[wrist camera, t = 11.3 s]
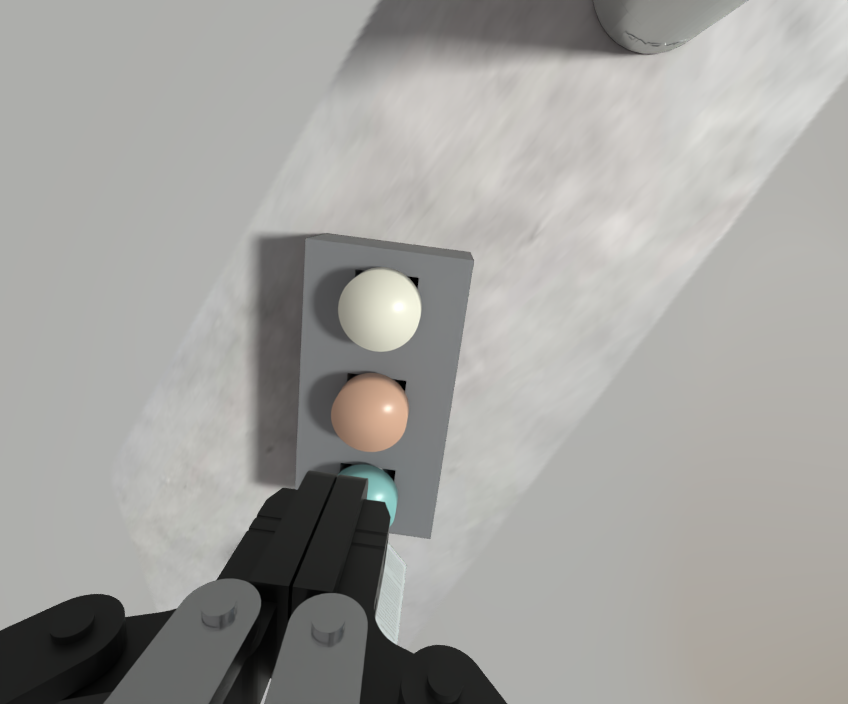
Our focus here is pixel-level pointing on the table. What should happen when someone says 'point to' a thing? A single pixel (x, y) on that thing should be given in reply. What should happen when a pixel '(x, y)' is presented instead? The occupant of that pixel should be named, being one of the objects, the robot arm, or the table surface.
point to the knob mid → (370, 412)
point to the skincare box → (391, 595)
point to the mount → (382, 366)
